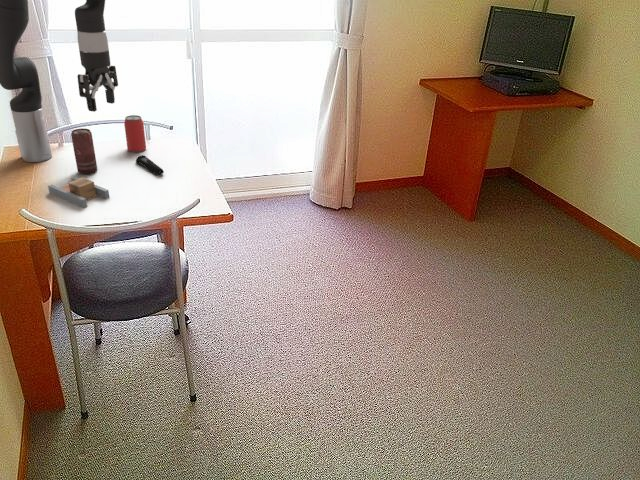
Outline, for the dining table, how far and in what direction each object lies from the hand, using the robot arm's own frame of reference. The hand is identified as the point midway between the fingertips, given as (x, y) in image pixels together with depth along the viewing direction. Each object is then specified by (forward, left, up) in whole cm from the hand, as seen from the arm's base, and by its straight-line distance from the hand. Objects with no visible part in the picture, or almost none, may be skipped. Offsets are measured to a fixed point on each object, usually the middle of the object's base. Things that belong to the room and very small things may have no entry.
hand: (101, 106), depth 155 cm
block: (-3, -9, -26) cm, 28 cm away
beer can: (-22, +28, -26) cm, 45 cm away
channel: (-5, -9, -26) cm, 28 cm away
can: (-18, +4, -26) cm, 32 cm away
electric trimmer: (-5, +19, -27) cm, 33 cm away
